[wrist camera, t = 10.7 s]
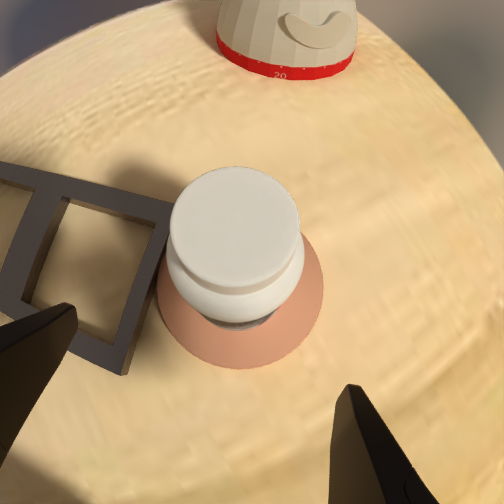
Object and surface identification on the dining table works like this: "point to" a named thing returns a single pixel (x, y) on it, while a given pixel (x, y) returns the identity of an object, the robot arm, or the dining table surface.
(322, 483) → the dining table surface
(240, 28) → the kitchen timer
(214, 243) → the pill bottle
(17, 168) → the dark grey flat frame
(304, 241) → the coaster
